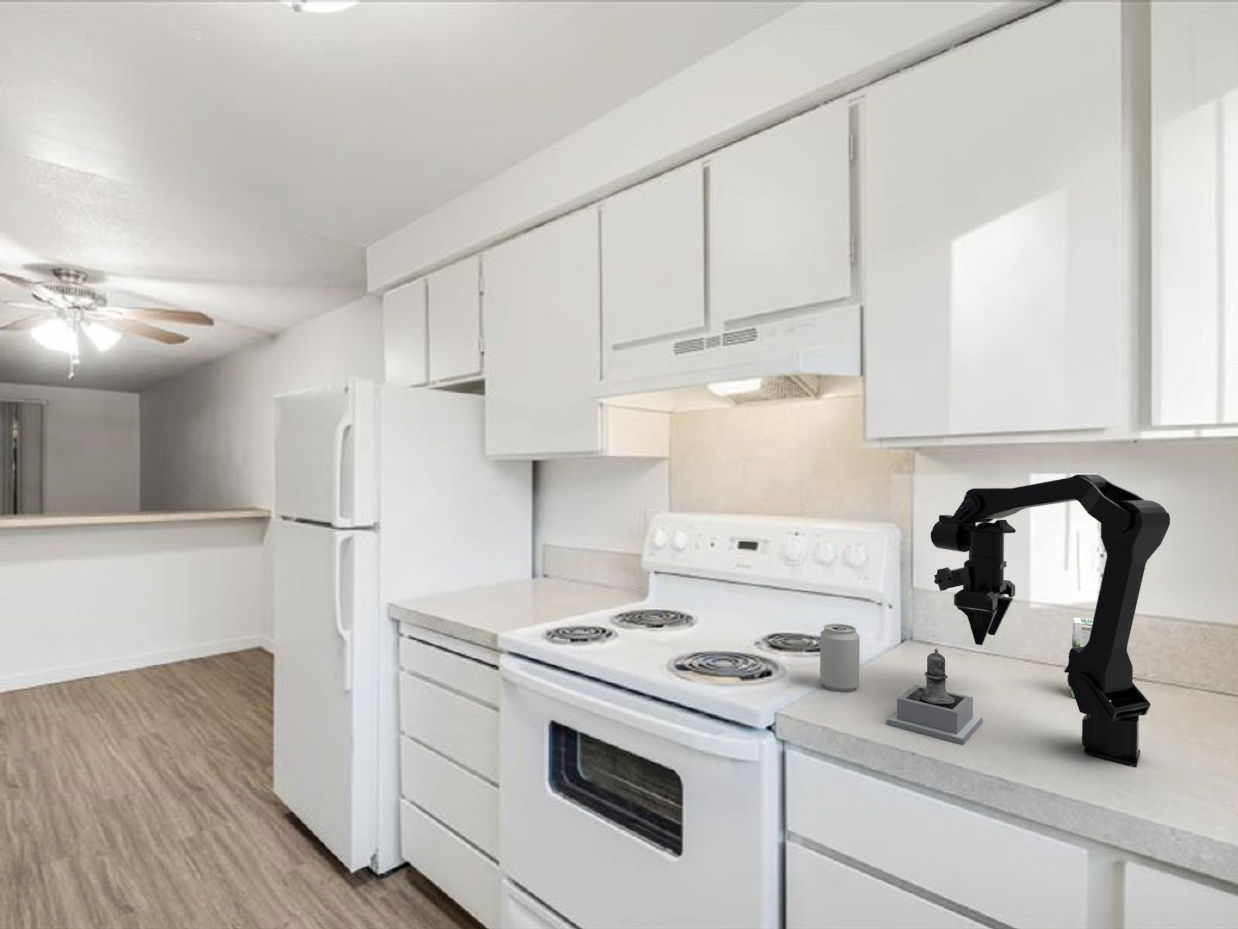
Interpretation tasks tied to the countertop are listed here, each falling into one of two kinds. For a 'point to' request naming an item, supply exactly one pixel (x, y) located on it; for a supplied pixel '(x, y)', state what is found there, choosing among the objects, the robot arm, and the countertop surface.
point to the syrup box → (1081, 633)
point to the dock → (936, 716)
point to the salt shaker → (936, 683)
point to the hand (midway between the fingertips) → (985, 639)
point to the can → (839, 657)
